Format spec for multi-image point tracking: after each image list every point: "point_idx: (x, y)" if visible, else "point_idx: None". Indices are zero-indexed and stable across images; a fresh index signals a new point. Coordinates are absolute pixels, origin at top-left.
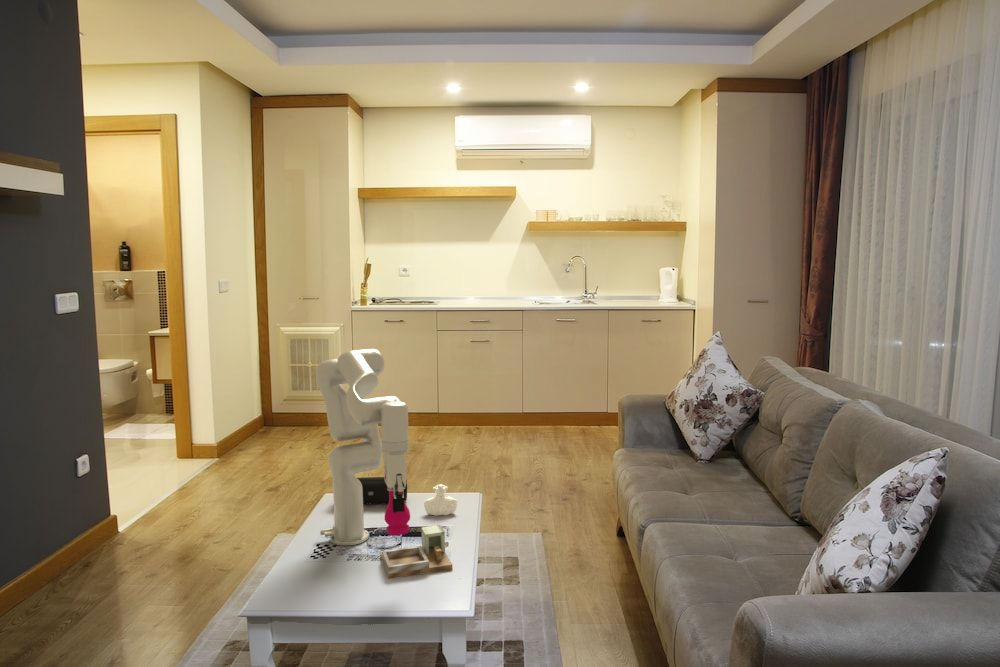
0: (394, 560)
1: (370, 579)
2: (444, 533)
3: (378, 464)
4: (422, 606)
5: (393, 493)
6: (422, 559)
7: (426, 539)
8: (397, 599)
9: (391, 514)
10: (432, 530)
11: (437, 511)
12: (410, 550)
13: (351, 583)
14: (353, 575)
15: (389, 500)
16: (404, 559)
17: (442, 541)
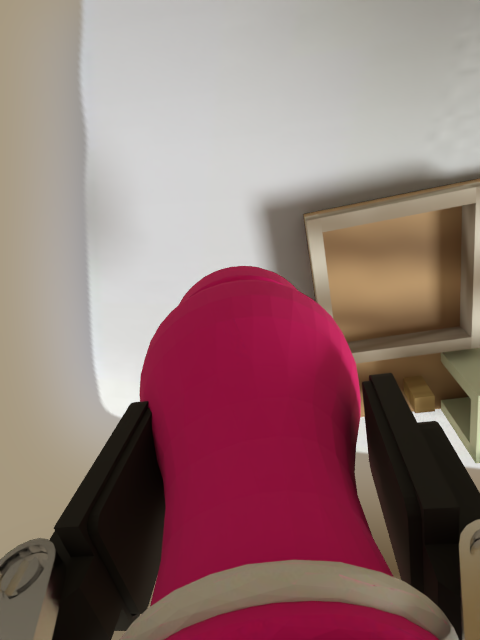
0: (426, 236)
1: (313, 139)
2: (472, 457)
3: None
4: (107, 319)
5: (14, 629)
6: (384, 340)
7: (467, 385)
8: (149, 248)
9: (146, 371)
10: None
11: None
12: (468, 304)
13: (291, 54)
14: (369, 52)
15: (234, 433)
16: (423, 275)
17: (457, 428)
